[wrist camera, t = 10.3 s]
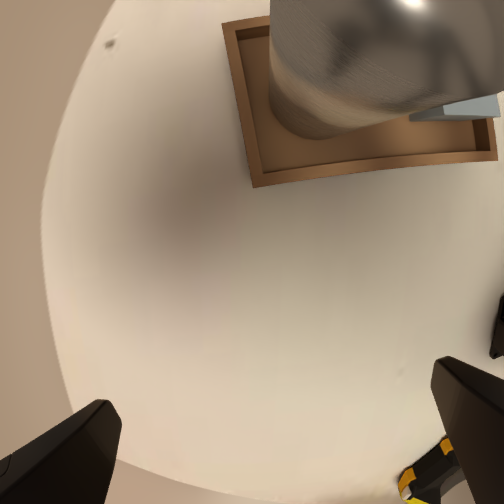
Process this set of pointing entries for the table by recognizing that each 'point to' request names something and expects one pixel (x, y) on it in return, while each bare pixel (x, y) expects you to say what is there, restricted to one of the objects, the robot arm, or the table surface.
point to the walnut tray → (340, 147)
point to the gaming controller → (429, 475)
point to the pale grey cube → (461, 110)
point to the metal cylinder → (379, 60)
